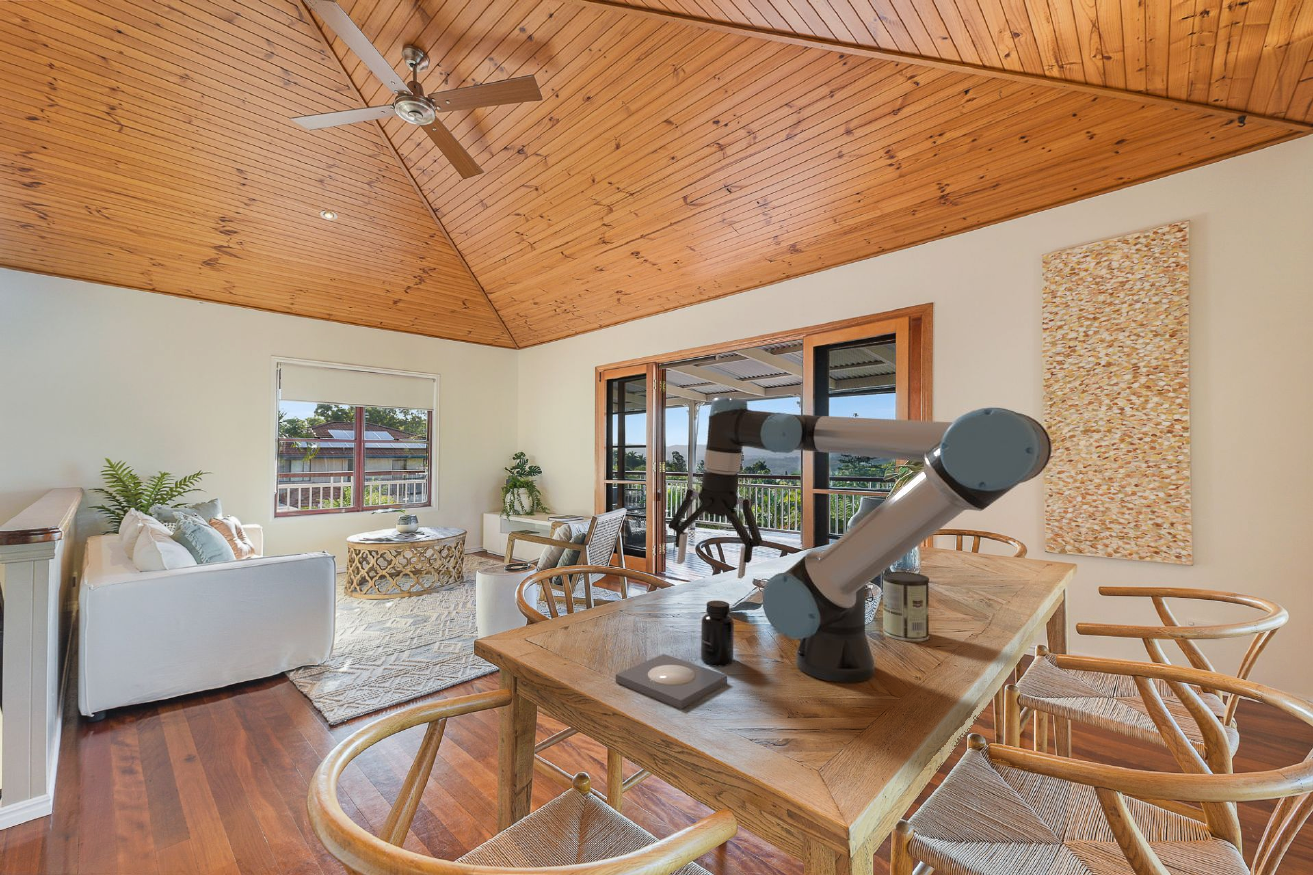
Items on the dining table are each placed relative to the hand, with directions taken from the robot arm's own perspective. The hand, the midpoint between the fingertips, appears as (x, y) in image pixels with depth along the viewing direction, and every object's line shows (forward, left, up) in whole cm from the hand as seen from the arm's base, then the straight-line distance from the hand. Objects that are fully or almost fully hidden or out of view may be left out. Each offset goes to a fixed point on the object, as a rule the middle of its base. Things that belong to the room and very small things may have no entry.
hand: (710, 569), depth 119 cm
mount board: (-2, +15, -19) cm, 24 cm away
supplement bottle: (-2, 0, -19) cm, 19 cm away
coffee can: (-26, -44, -19) cm, 55 cm away
